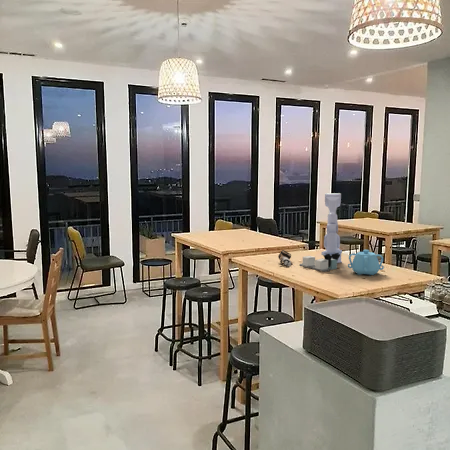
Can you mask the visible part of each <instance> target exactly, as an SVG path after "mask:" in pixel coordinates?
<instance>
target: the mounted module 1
mask: <svg viewBox="0 0 450 450" xmlns="http://www.w3.org/2000/svg"><path fill="white" fill-rule="evenodd" d="M315 260H316V256H312V255H306V256H302V263H303V265H305V266H312V265H315Z"/></svg>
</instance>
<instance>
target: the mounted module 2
mask: <svg viewBox="0 0 450 450" xmlns="http://www.w3.org/2000/svg"><path fill="white" fill-rule="evenodd" d="M315 268H316V269H320V270H321V269H328V260H326V259H325V258H323V259H322V258H319V259H315Z"/></svg>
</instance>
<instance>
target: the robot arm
mask: <svg viewBox="0 0 450 450" xmlns="http://www.w3.org/2000/svg"><path fill="white" fill-rule="evenodd" d="M341 199H342V193H340V192H338V193H335V192H334V193H331V192H330V193H329V192H328V193H327V192H325V193H324V206H325V207H327V208H328V213H329V214H327V224H326V234H325V235H324V239H323V247H324V248H325V251H321V253H320V254H321V256H323V257H324V258H323V259H326V260H328V267H330V265H331V258H332V259H336V260H337V264H339V263H342V262H343V261H342V254H343V250H342V249H340V247H341V245H340V244H341V237H340V235H339V234H338V233H339V223H338V214H337V209H338V208H339V207H341V202H342V200H341Z"/></svg>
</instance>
